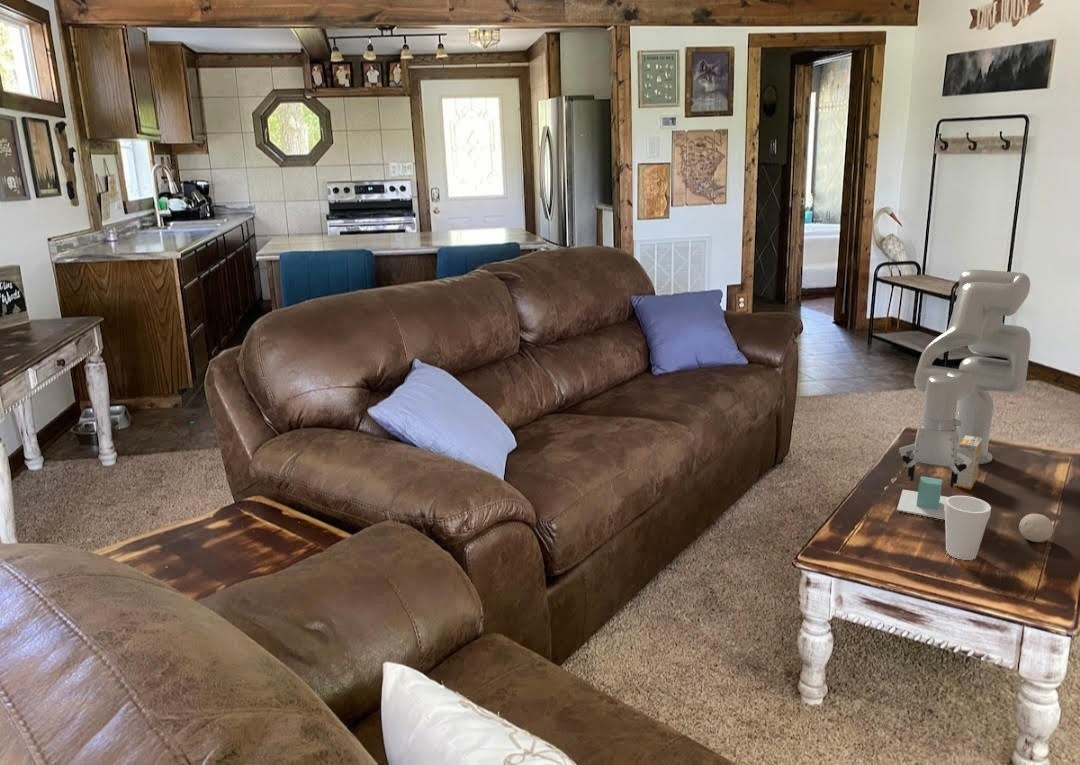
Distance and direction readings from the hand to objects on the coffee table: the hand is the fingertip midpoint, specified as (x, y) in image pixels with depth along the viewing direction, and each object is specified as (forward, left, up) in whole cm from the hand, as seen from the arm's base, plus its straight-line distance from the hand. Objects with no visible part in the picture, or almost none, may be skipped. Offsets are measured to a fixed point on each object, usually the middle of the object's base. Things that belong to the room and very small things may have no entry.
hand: (931, 482), depth 210 cm
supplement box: (-20, +8, -7) cm, 23 cm away
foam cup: (+25, +9, -7) cm, 27 cm away
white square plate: (+1, 0, -7) cm, 7 cm away
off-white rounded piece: (+10, +24, -7) cm, 27 cm away
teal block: (+1, 0, -6) cm, 6 cm away
